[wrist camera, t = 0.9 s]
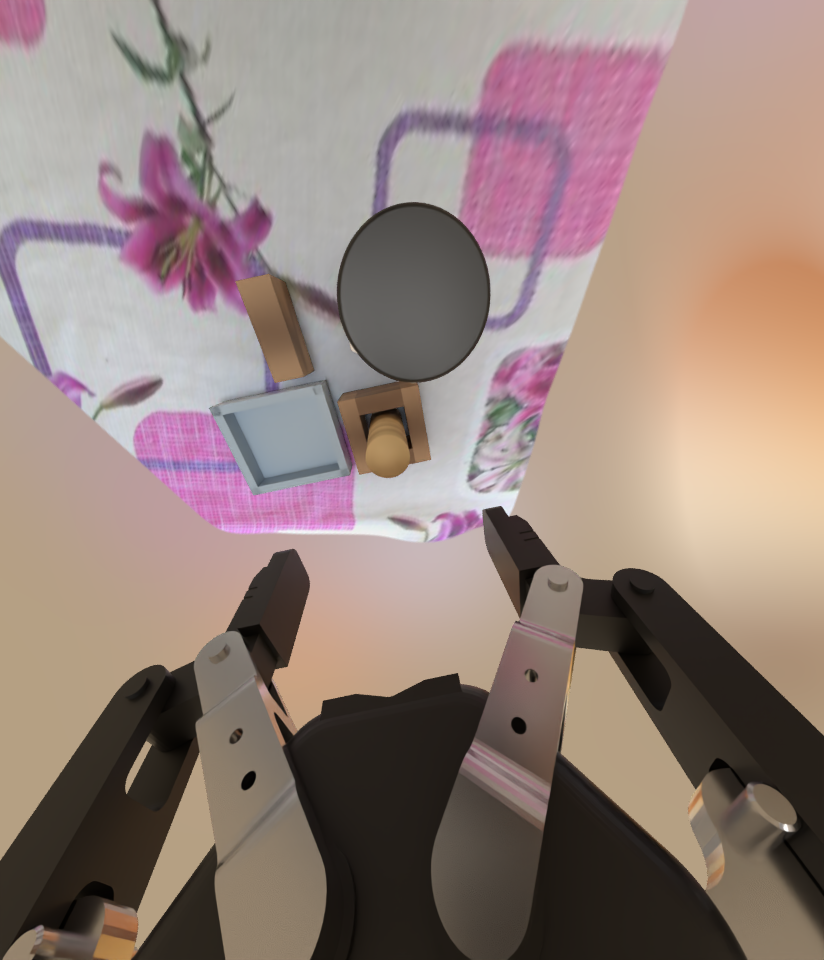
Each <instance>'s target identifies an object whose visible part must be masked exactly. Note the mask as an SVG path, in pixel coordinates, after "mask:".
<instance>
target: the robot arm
mask: <svg viewBox="0 0 824 960" xmlns="http://www.w3.org/2000/svg"><path fill="white" fill-rule="evenodd" d="M483 524H484V535H485V542H486V546H487V550H488V552H489V554H490V557H491V559H492V561H493V563H494V565H495V567H496V569H497V571H498V573H499V576H500V578H501V580H502V582H503V584H504V586H505V588H506V590H507V592H508V594H509V596H510V599H511V601H512V603H513V605H514V607H515V609H516V611H517V613H518V616H519V618H520V620H519V622H517V621H516V622H515V623H514V624H513V626H512V629H511V632H510V635H509V638H508V641H507V644H506V646H505V649H504V652H503V656H502V658H501V661H500V664H499V667H498V670H497V673H496V676H495V679H494V682H493V685H492V687H491V690H490V693H489V692H487V691H486V690H483V689H480V688H478V687H474V686H470V685H464V684H460V680H459V676H458V673H456V674H451V675H446V676H441V677H437V678H432V679H427V680H424V681H422V682H420V683H418V684H416V685H414V686H412V687H410V688H408V689H406V690H404V691H402V692H400V693H398V694H396V695H394V696H392V697H382V696H371V695H360V694H354V695H349V696H344V697H340V698H335V699H330V700H324V701H323V704H322V711H321V714H320V715H318V716H317V717H315V718H314V719H312V720H311V721H309V722H308V723H307V724H305V726H303V727H302V728H301V729H300V730H299V731H298V730H297V728H296V727H295V725H294V723H293V721H292V719H291V717H290V715H289V712H288V710H287V708H286V706H285V703H284V701H283V699H282V697H281V695H280V693H279V690H278V688H277V686H276V684H275V682H274V680H273V679H272V676H273V673H274V670H275V669H279V668H284V667H287V666H288V663H289V660H290V656H291V653H292V649H293V646H294V642H295V639H296V635H297V632H298V628H299V625H300V621H301V617H302V614H303V610H304V607H305V603H306V600H307V596H308V593H309V588H310V581H309V577H308V574H307V572H306V570H305V568H304V566H303V564H302V562H301V559H300V557H299V555H298V553H297V551H296V550H295V549H290V550H285V551H281V552H276V553H275V554H273V556H272V558H271V560H270V562H269V564H268V566H267V567H264V568H263V569H262V570H261V571H260V572H259V573H258V574H257V575H256V576H255V577H254V579H253V581H252V582H251V584H250V586H249V590H248V591H247V592H246V594H245V596H244V600H242V602H241V604H240V606H239V607H238V610H237V611H236V613H235V616H234V618H233V619H232V621H231V623H230V625H229V627H228V629H227V631H226V632H225V633H222V634H221V635H219V636H217V637H215V638H214V639H212V640H211V641H210V642H209V643H207V644H206V645H205V646H204V647H203V648H202V650H201V651H200V652H199V654H198V655H197V657H196V659H195V661H193V662H191V663H189V664H187V665H185V666H183V667H181V668H178V669H176V670H174V671H172V672H169V671H168V670H167V669H166V668H165V667H164V666H162V665H153V666H150V667H148V668H145V669H143V670H142V671H140V672H138V673H137V674H135V675H134V676H133V677H132V678H130V679H129V680H128V681H127V682H126V683H125V684H123V686H122V687H121V688H120V689H119V690H118V691H117V692H116V694H115V695H114V696H113V698H112V699H111V701H110V703H109V704H108V705H107V707H106V708H105V710H104V711H103V712H102V714H101V715H100V717H99V718H98V720H97V721H96V723H95V724H94V726H93V727H92V728H91V730H90V731H89V733H88V734H87V736H86V737H85V739H84V740H83V741H82V743H81V744H80V746H79V747H78V749H77V750H76V752H75V753H74V755H73V756H72V758H71V759H70V760H69V762H68V763H67V765H66V766H65V768H64V769H63V771H62V772H61V773H60V775H59V777H58V778H57V779H56V781H55V782H54V784H53V785H52V786H51V788H50V790H49V791H48V792H47V794H46V795H45V797H44V798H43V800H42V801H41V802H40V804H39V806H38V807H37V808H36V810H35V811H34V813H33V814H32V816H31V817H30V818H29V820H28V821H27V823H26V824H25V826H24V827H23V829H22V830H21V832H20V833H19V834H18V836H17V837H16V839H15V840H14V842H13V843H12V845H11V846H10V848H9V849H8V850H7V852H6V853H5V855H4V856H3V858H2V859H1V861H0V960H824V736H823V735H822V734H821V733H820V732H819V731H818V730H817V729H816V728H815V727H814V726H813V725H812V724H811V723H810V722H809V721H808V720H807V719H806V718H805V717H804V716H803V715H802V714H801V713H800V712H799V711H798V710H797V709H796V708H795V707H794V706H793V705H792V704H791V703H790V702H788V700H786V699H785V698H784V697H783V696H782V695H781V694H780V693H779V692H778V691H777V690H776V689H775V688H774V687H773V686H772V685H771V684H770V683H769V682H768V681H767V680H766V679H765V678H764V677H763V676H762V675H761V674H760V673H759V672H758V671H757V670H755V669H754V667H752V665H751V664H750V663H748V662H747V661H746V660H745V659H744V658H743V657H742V656H741V655H740V654H739V653H738V652H737V651H736V650H735V649H734V648H733V647H732V646H731V645H730V644H729V643H728V642H727V641H726V640H725V639H724V638H723V637H722V636H721V635H720V634H718V632H717V631H716V630H715V629H714V628H713V627H711V626H710V625H709V624H708V623H707V622H706V621H705V620H704V619H703V618H702V617H701V616H700V615H699V614H698V613H697V612H696V611H695V610H694V609H693V608H692V607H691V606H690V605H689V604H688V603H687V602H686V601H685V600H684V599H683V598H682V597H681V596H680V595H678V593H677V592H676V591H675V590H674V589H673V588H671V587H670V586H669V585H668V584H667V583H666V582H665V581H664V580H663V579H661V578H660V577H658V576H657V575H655V574H653V573H650V572H648V571H645V570H641V569H635V568H634V569H633V568H628V569H622V570H620V571H618V572H616V573H615V574H614V576H613V580H612V581H610V580H593V579H585V578H581V577H579V575H577V573H575V572H574V571H573V570H571V569H569V568H567V567H564V566H560V565H559V563H558V562H557V561H556V559H555V558H554V557H553V555H552V554H551V553H550V551H549V550H548V549H547V547H546V546H545V545H544V543H543V542H542V541H541V539H539V537H538V535H537V534H536V533H535V532H534V531H533V529H532V527H531V526H530V525H529V523H528V522H527V521H525V520H523V519H522V518H520V517H518V516H517V515H515V516H510V517H508V515H507V514H506V512H505V511H504V509H503V508H502V507H501V506H498V507H493V508H488V509H483ZM576 647H579V648H586V649H595V650H603V651H609V653H610V654H611V656H612V658H613V659H614V661H615V663H616V664H617V665H618V667H619V669H620V670H621V672H622V674H623V675H624V677H625V678H626V680H627V682H628V683H629V685H630V686H631V688H632V689H633V691H634V693H635V694H636V696H637V697H638V699H639V700H640V702H641V704H642V705H643V707H644V708H645V710H646V711H647V713H648V715H649V716H650V718H651V719H652V721H653V723H654V724H655V726H656V727H657V729H658V730H659V732H660V734H661V735H662V737H663V738H664V740H665V741H666V743H667V745H668V746H669V748H670V749H671V751H672V753H673V754H674V756H675V757H676V759H677V761H678V762H679V764H680V765H681V767H682V769H683V770H684V772H685V773H686V775H687V776H688V778H689V779H690V781H691V783H692V784H693V786H694V787H695V789H696V791H695V792H694V794H693V795H692V797H691V799H690V801H689V806H688V814H689V820H690V824H691V827H692V830H693V832H694V834H695V836H696V839H697V841H698V843H699V845H700V847H701V849H702V852H703V855H704V858H705V862H706V867H707V874H708V875H707V876H708V880H707V887H706V890H704V889H703V888H702V887H701V885H700V884H699V883H698V882H697V880H696V879H695V878H694V877H693V876H692V875H691V874H690V872H688V870H687V869H686V868H685V867H684V866H683V865H682V864H681V863H680V862H679V861H678V860H677V859H676V858H675V857H674V856H673V855H672V854H671V853H670V852H669V851H668V850H667V849H666V848H664V847H663V846H662V845H661V844H660V843H659V842H658V841H657V840H656V839H654V838H653V837H652V836H651V835H650V834H649V833H648V832H647V831H646V830H645V829H643V828H642V827H641V826H640V825H639V824H638V823H637V822H636V821H635V820H634V819H632V818H631V817H630V816H629V815H628V814H627V813H626V812H625V811H624V810H622V809H621V808H620V807H619V806H618V805H617V804H616V803H615V802H614V801H612V800H611V799H610V798H609V797H608V796H607V795H606V794H605V793H604V792H603V791H601V790H600V789H599V788H598V787H597V786H596V785H595V784H594V783H593V782H591V781H590V780H589V779H588V778H587V777H586V776H585V775H584V774H583V773H582V772H580V771H579V770H578V769H577V768H576V767H575V766H574V765H573V764H572V763H571V762H569V761H568V760H567V759H566V758H565V757H564V756H563V755H562V754H561V750H562V743H563V736H564V729H565V722H566V715H567V707H568V700H569V693H570V686H571V680H572V673H573V666H574V660H575V653H576ZM145 741H148V742H149V743H150V744H152V746H151V748H150V750H149V752H148V754H147V756H146V758H145V760H144V762H143V763H142V765H141V767H140V769H139V771H138V773H137V775H136V777H135V779H134V781H133V783H132V785H131V787H130V789H129V791H128V793H127V794H126V792H125V783H126V779H127V776H128V774H129V771H130V769H131V768H132V766H133V764H134V762H135V760H136V758H137V756H138V754H139V753H140V751H141V749H142V747H143V745H144V743H145ZM199 752H200V756H201V762H202V768H203V774H204V780H205V785H206V791H207V797H208V803H209V810H210V815H211V821H212V827H213V833H214V839H215V844H214V845H213V847H212V848H211V849H210V851H209V852H208V854H207V855H206V856H205V858H204V859H203V860H202V862H201V863H200V865H199V866H198V868H197V869H196V870H195V872H194V873H193V874H192V876H191V878H190V879H189V880H188V882H187V883H186V884H185V886H184V887H183V888H182V890H181V891H180V893H179V894H178V895H177V897H176V898H175V899H174V901H173V902H172V904H171V905H170V906H169V908H168V909H167V911H166V912H165V913H164V915H163V916H162V918H161V919H160V920H159V922H158V923H157V925H156V926H155V927H154V929H153V930H152V932H151V933H150V935H149V936H148V937H147V939H146V940H145V941H144V943H143V944H142V946H141V947H140V948H139V950H138V949H137V948H136V947H135V943H136V938H137V932H138V917H137V911H138V908H139V905H140V903H141V900H142V898H143V895H144V893H145V890H146V887H147V885H148V882H149V880H150V877H151V875H152V872H153V870H154V867H155V865H156V862H157V859H158V857H159V854H160V852H161V849H162V846H163V844H164V841H165V839H166V836H167V834H168V831H169V829H170V826H171V823H172V821H173V819H174V816H175V813H176V811H177V808H178V806H179V803H180V801H181V798H182V795H183V793H184V790H185V788H186V785H187V783H188V780H189V778H190V775H191V773H192V770H193V767H194V765H195V762H196V760H197V757H198V755H199Z"/></svg>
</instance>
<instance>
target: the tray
mask: <svg viewBox="0 0 824 960" xmlns="http://www.w3.org/2000/svg"><path fill="white" fill-rule="evenodd" d="M209 409H210V411H211V413H212V415H213V417H214V419H215V421H216V423H217V425H218V427H219V429H220V431H221V432H222V434H223V436H224V438H225V440H226V442H227V444H228V446H229V448H230V450H231V452H232V454H233V456H234V458H235V460H236V462H237V464H238V466H239V468H240V470H241V472H242V474H243V476H244V478H245V480H246V482H247V484H248V486H249V488H250V490H251V491H252V493H253V495H258V494H262V493H267V492H272V491H277V490H282V489H286V488H291V487H296V486H301V485H305V484H310V483H315V482H320V481H324V480H329V479H334V478H339V477H343V476H348V475H350V473H351V469H352V462H351V459H350V456H349V453H348V449H347V446H346V443H345V440H344V437H343V433H342V430H341V427H340V424H339V420H338V417H337V414H336V411H335V408H334V404H333V401H332V398H331V395H330V391H329V388H328V385H327V382H326V380H324V381H319V382H314V383H310V384H305V385H300V386H296V387H291V388H286V389H282V390H277V391H272V392H267V393H263V394H258V395H253V396H249V397H244V398H239V399H234V400H230V401H225V402H222V403H219V404H217V405H215V406H213V407H210V408H209Z"/></svg>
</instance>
